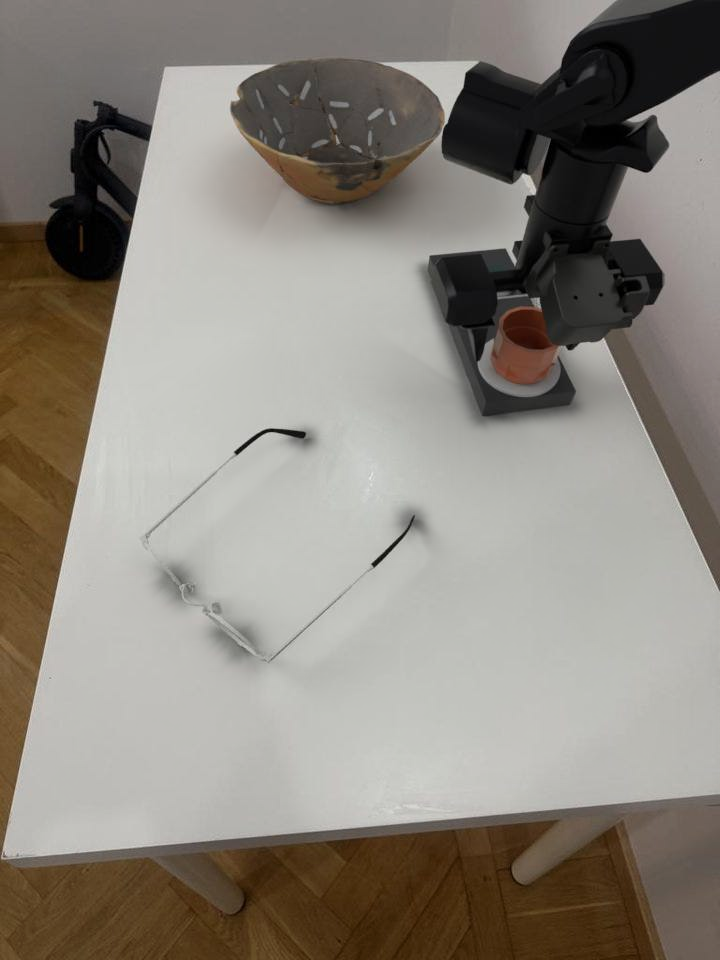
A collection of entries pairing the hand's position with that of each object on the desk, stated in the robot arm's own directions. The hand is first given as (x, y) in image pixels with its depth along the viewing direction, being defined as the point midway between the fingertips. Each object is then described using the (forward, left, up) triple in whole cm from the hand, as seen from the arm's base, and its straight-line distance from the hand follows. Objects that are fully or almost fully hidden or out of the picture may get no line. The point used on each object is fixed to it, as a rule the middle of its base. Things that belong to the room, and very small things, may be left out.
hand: (522, 352), depth 61 cm
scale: (+3, -6, -4) cm, 8 cm away
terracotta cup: (0, 0, -1) cm, 1 cm away
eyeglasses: (+17, +23, -4) cm, 29 cm away
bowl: (+25, -29, -4) cm, 39 cm away
